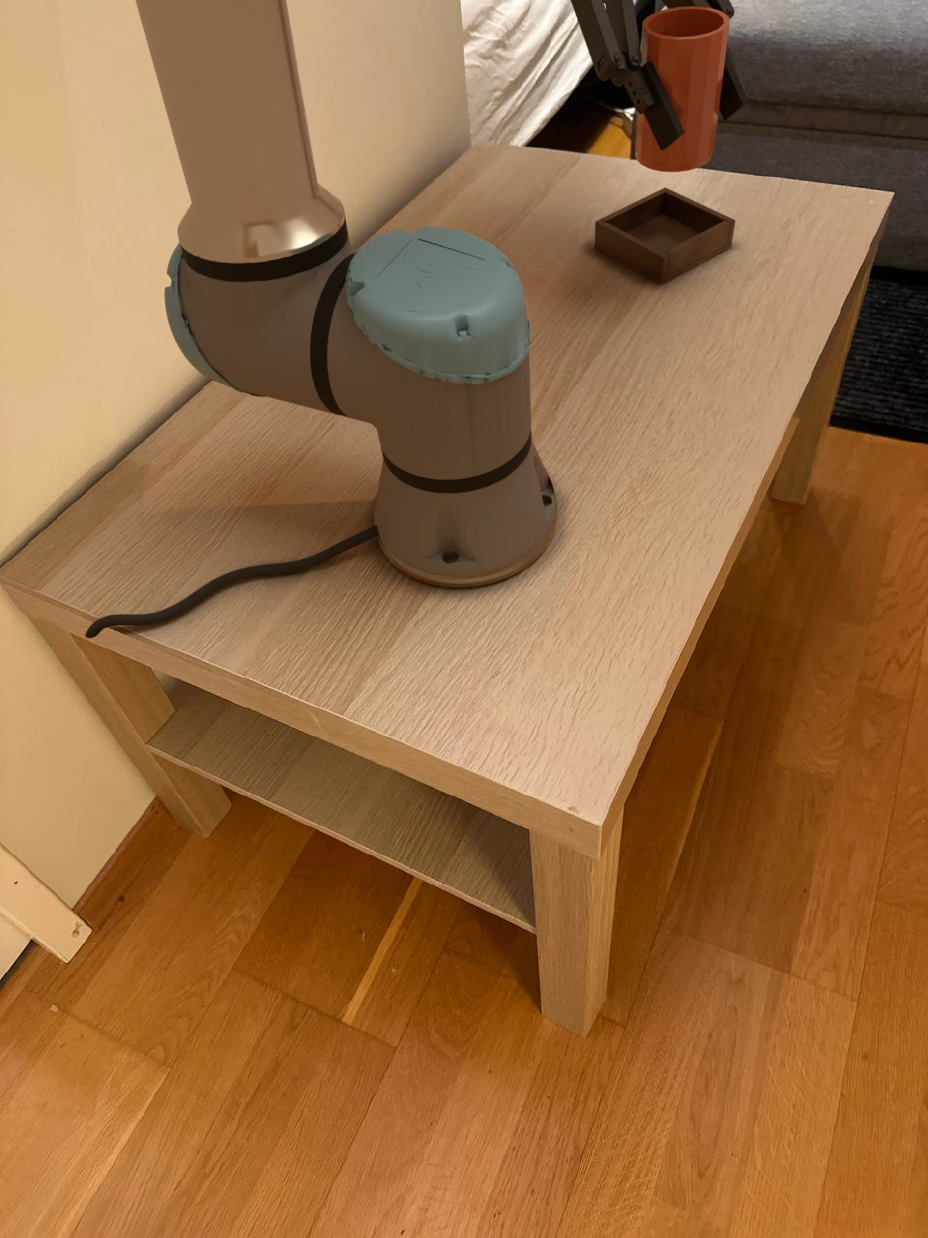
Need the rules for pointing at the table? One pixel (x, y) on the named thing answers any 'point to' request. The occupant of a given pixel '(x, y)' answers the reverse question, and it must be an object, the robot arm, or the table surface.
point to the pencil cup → (685, 83)
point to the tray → (664, 235)
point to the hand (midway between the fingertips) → (705, 125)
